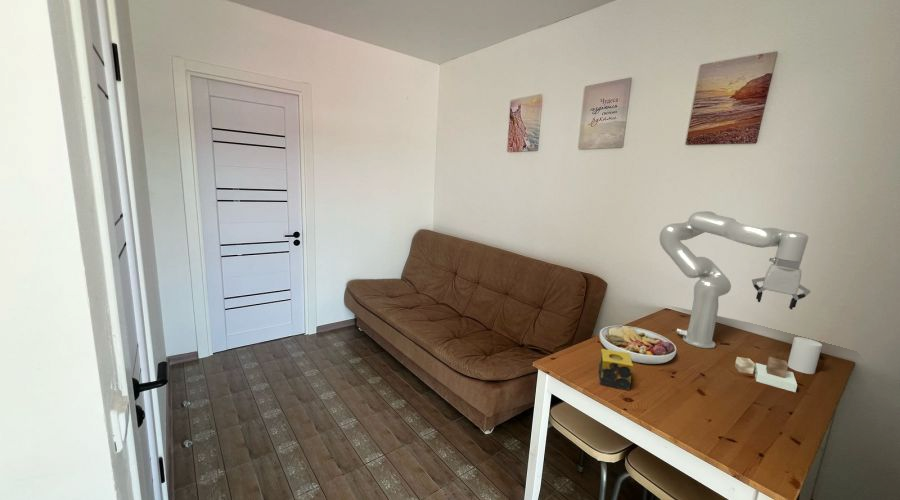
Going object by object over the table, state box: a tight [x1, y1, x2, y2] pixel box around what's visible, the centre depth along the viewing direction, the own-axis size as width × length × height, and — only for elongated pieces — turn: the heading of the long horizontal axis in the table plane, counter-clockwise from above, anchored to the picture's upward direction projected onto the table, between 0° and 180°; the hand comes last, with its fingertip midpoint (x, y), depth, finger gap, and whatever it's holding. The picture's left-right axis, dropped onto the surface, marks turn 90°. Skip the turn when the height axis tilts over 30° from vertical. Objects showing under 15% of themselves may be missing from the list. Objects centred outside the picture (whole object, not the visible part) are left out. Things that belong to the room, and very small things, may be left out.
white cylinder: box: [787, 336, 823, 375], centre depth 146 cm, size 8×8×12 cm
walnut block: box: [766, 356, 789, 378], centre depth 137 cm, size 5×5×5 cm
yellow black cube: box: [598, 348, 634, 391], centre depth 132 cm, size 10×10×10 cm
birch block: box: [734, 356, 756, 375], centre depth 144 cm, size 4×4×4 cm
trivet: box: [753, 362, 798, 393], centre depth 137 cm, size 11×11×3 cm
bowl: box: [599, 325, 677, 365], centre depth 158 cm, size 30×30×8 cm
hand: (774, 304), depth 143 cm, fingers open, 9 cm apart
